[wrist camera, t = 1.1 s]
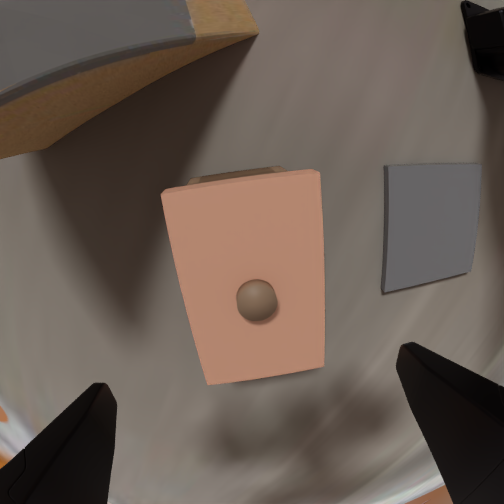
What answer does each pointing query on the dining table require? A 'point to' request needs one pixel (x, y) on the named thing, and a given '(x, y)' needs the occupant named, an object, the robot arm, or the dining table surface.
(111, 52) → the sandwich container
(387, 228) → the coaster
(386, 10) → the dining table surface
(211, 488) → the dining table surface
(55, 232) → the dining table surface
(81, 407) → the robot arm
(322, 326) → the lid
